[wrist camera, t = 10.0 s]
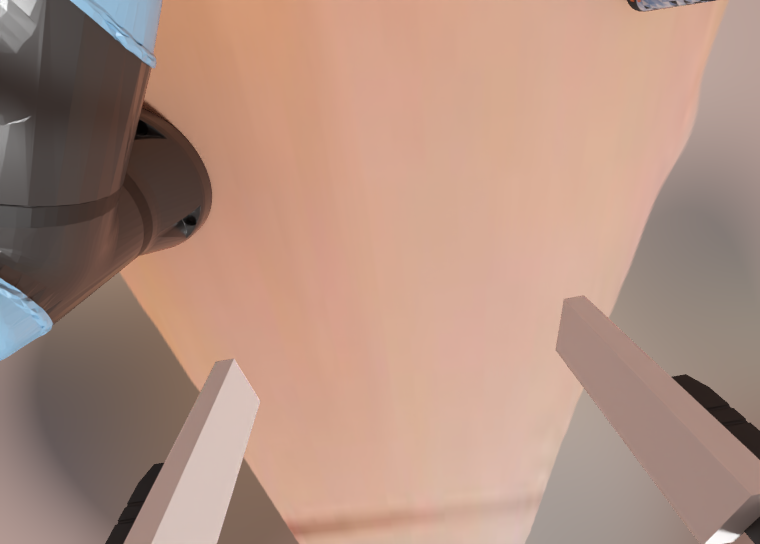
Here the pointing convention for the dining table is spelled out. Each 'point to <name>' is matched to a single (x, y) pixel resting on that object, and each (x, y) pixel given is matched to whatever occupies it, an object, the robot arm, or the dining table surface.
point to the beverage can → (660, 4)
